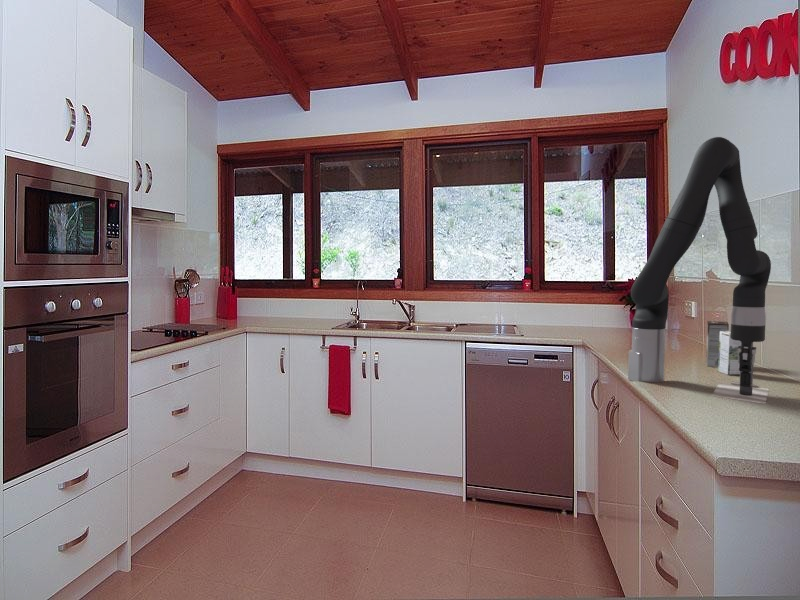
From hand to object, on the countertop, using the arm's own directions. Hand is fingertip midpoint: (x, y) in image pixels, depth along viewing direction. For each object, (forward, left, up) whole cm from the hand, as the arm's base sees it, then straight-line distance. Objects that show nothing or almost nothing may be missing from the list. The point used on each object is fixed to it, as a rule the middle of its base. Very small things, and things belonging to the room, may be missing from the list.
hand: (745, 385), depth 125 cm
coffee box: (+24, +43, -4) cm, 49 cm away
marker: (0, 0, -3) cm, 3 cm away
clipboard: (0, +2, -4) cm, 4 cm away
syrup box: (+19, +29, -4) cm, 35 cm away
